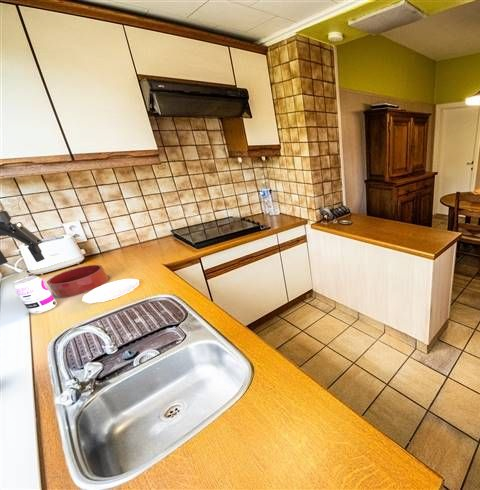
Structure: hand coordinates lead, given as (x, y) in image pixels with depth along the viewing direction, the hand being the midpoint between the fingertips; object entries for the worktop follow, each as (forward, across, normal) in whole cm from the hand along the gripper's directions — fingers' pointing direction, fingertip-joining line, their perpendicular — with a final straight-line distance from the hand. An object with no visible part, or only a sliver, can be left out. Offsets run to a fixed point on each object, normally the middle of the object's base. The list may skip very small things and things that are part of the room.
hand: (22, 262), depth 109 cm
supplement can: (+24, +4, -1) cm, 24 cm away
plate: (+24, -19, -9) cm, 32 cm away
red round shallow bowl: (+24, +3, -20) cm, 31 cm away
